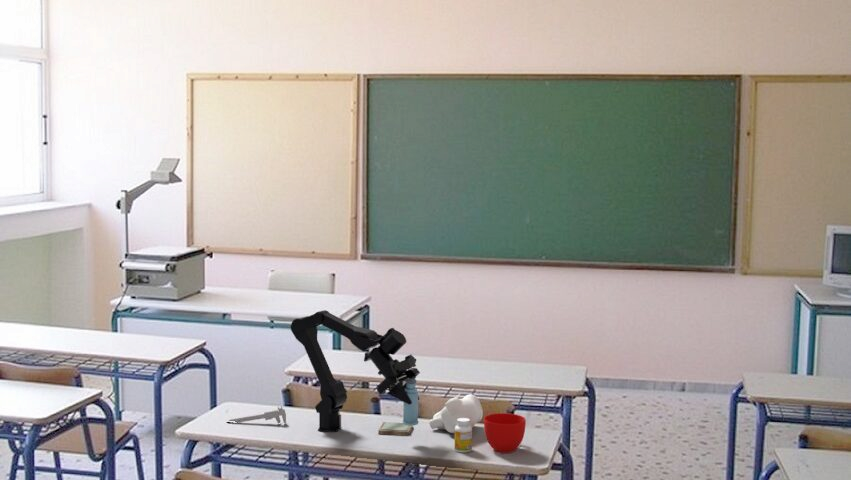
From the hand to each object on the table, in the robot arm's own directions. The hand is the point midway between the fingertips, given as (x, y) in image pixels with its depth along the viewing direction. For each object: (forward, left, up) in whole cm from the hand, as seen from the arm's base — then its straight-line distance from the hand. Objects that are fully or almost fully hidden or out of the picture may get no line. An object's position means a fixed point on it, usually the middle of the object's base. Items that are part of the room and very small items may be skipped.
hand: (414, 401), depth 319 cm
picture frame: (-8, +14, -13) cm, 21 cm away
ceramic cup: (+29, 0, -14) cm, 32 cm away
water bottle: (-1, +1, -7) cm, 7 cm away
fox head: (+11, +15, -14) cm, 23 cm away
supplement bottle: (+16, -4, -14) cm, 21 cm away
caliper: (-56, +15, -14) cm, 60 cm away
